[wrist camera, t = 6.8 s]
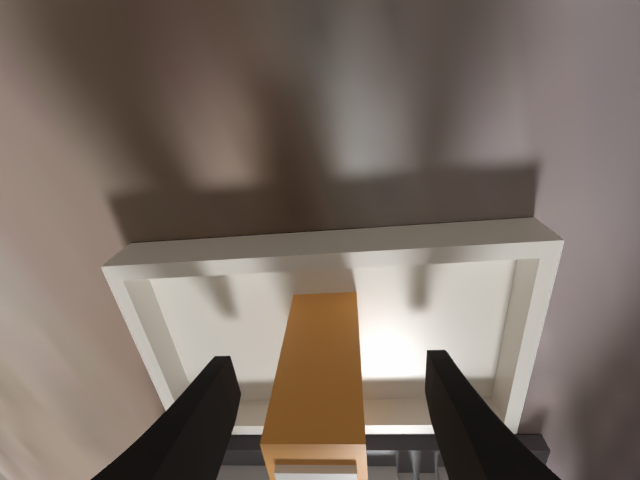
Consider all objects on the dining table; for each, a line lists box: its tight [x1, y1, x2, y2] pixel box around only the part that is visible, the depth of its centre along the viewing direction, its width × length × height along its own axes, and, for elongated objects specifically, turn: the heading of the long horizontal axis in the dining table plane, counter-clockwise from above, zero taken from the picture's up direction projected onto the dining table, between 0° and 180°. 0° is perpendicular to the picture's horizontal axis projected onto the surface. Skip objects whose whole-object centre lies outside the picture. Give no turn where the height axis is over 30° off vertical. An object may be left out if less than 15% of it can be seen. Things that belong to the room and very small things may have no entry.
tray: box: [101, 217, 565, 435], centre depth 14 cm, size 15×9×2 cm, turn 96°
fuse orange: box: [260, 292, 368, 480], centre depth 11 cm, size 4×2×6 cm, turn 6°
